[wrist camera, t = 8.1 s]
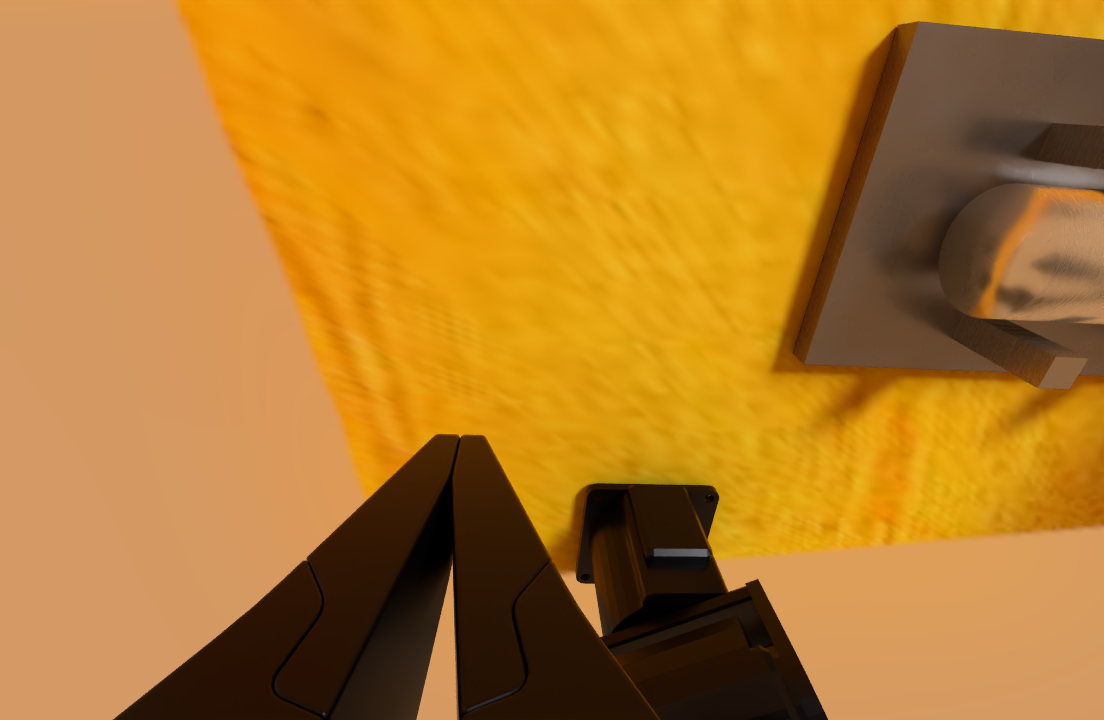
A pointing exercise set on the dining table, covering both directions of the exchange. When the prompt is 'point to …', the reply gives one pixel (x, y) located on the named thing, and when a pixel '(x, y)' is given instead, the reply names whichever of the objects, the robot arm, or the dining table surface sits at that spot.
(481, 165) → the dining table surface
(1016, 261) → the tube
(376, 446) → the dining table surface
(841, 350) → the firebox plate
